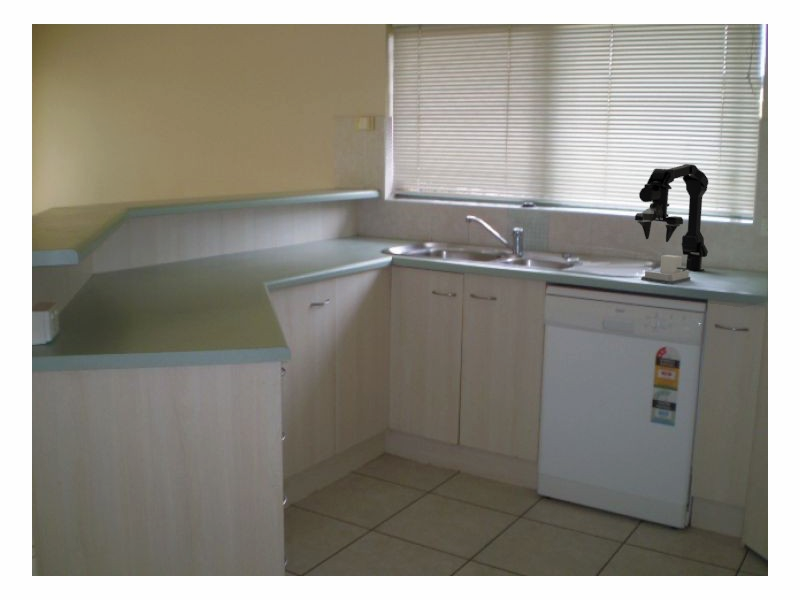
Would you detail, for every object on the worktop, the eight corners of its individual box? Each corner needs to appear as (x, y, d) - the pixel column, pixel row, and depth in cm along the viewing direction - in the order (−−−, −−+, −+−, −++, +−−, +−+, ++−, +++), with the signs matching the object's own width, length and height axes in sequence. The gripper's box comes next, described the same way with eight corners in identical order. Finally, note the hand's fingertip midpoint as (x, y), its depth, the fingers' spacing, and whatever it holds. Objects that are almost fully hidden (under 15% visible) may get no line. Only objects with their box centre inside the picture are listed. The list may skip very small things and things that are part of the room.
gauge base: (660, 275, 358) (660, 265, 358) (690, 280, 350) (691, 269, 349) (641, 279, 348) (641, 269, 348) (671, 284, 339) (672, 273, 339)
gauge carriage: (666, 273, 355) (667, 254, 353) (687, 276, 348) (688, 257, 347) (660, 274, 351) (661, 255, 350) (681, 277, 345) (682, 258, 344)
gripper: (627, 199, 352) (624, 239, 355) (668, 204, 338) (665, 245, 341) (644, 198, 359) (641, 237, 362) (685, 202, 345) (682, 242, 348)
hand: (656, 240), depth 353 cm, fingers open, 9 cm apart
